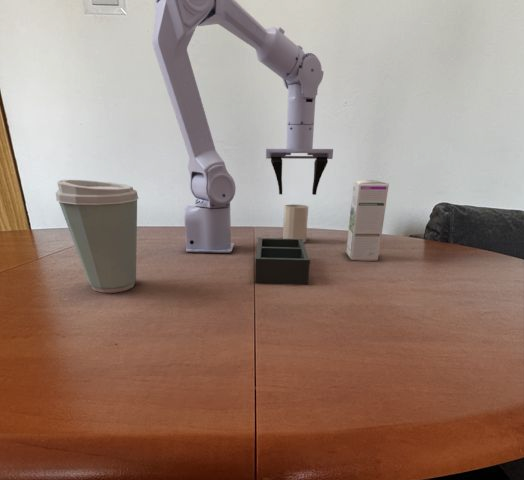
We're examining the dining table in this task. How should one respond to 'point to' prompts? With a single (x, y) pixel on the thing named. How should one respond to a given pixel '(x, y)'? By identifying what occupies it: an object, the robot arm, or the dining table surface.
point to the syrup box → (366, 219)
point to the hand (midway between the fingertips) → (297, 194)
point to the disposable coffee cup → (102, 230)
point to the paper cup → (295, 222)
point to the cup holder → (281, 261)
